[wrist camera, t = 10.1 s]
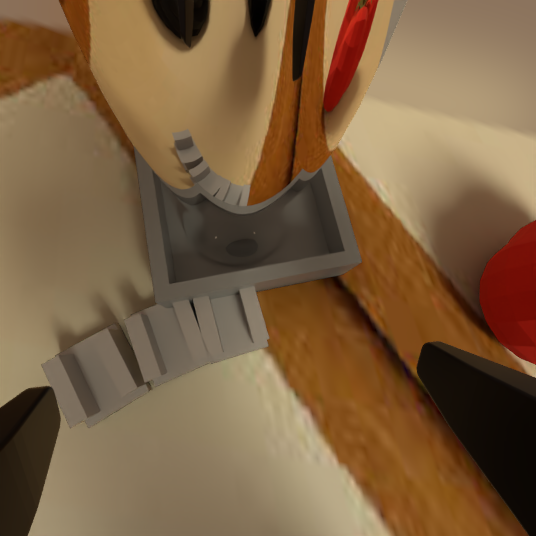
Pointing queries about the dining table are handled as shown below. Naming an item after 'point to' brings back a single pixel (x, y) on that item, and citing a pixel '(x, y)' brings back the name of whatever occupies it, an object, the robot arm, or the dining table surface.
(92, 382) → the clip
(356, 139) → the dining table surface
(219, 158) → the beer glass
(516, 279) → the tomato
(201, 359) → the clip
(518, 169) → the dining table surface
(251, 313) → the clip
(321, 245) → the holder
